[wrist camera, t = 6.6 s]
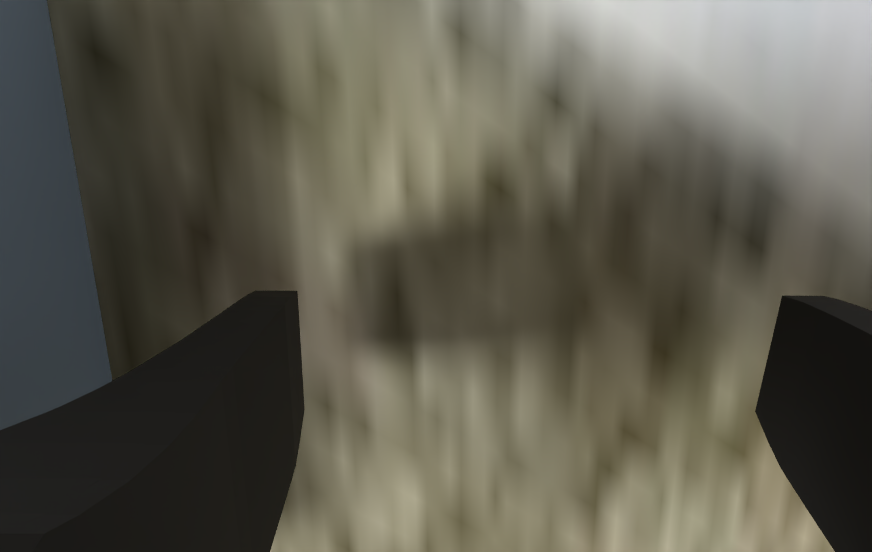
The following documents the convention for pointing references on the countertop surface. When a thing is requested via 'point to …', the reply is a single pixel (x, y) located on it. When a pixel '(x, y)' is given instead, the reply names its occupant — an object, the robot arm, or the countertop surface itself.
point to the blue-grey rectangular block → (41, 232)
